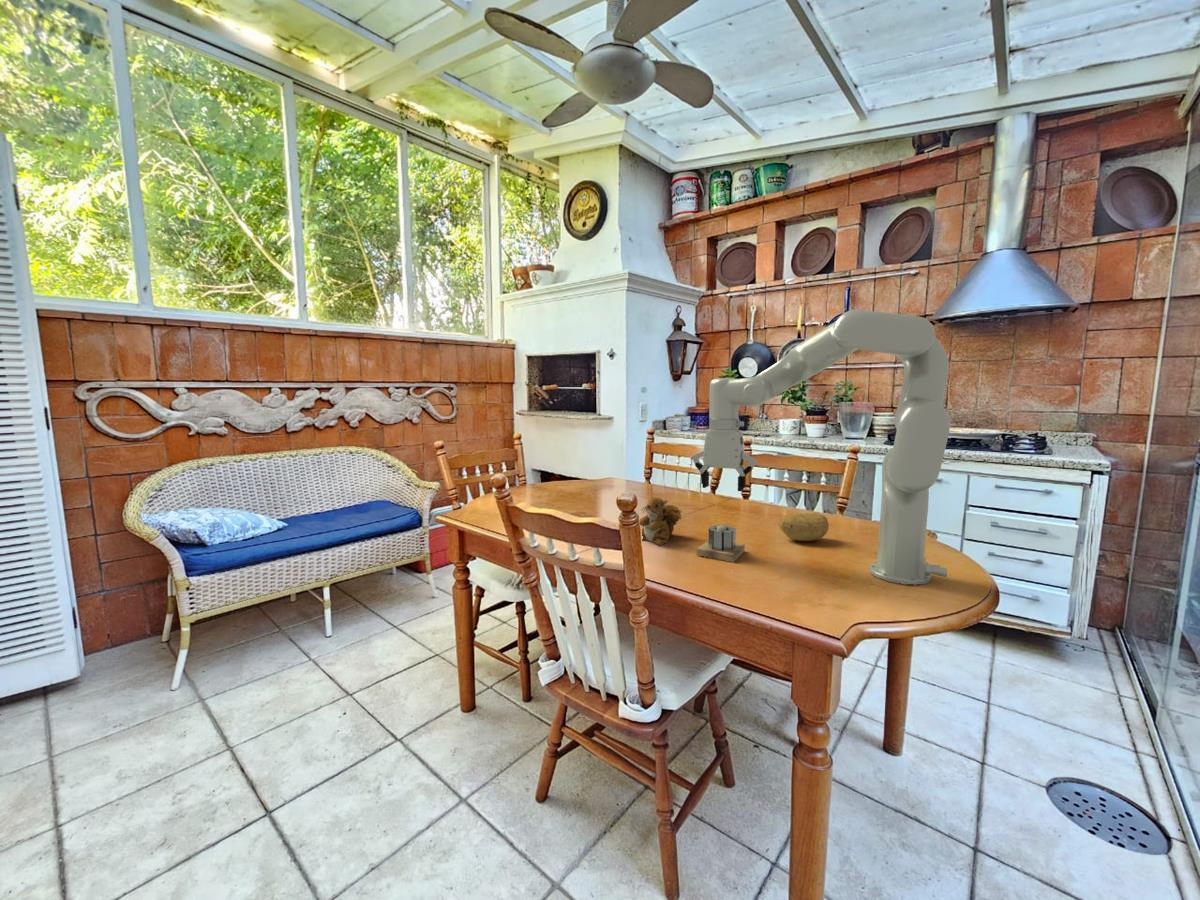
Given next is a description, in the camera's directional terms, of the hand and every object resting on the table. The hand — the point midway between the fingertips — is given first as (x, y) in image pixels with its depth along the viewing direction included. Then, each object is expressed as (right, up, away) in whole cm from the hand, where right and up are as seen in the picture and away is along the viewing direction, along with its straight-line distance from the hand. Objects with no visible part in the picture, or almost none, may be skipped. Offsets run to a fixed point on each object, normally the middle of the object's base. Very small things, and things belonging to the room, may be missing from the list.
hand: (722, 488), depth 137 cm
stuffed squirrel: (-15, -17, +17) cm, 28 cm away
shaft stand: (0, -18, +2) cm, 18 cm away
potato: (+27, -16, +13) cm, 34 cm away
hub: (0, -16, +2) cm, 16 cm away
